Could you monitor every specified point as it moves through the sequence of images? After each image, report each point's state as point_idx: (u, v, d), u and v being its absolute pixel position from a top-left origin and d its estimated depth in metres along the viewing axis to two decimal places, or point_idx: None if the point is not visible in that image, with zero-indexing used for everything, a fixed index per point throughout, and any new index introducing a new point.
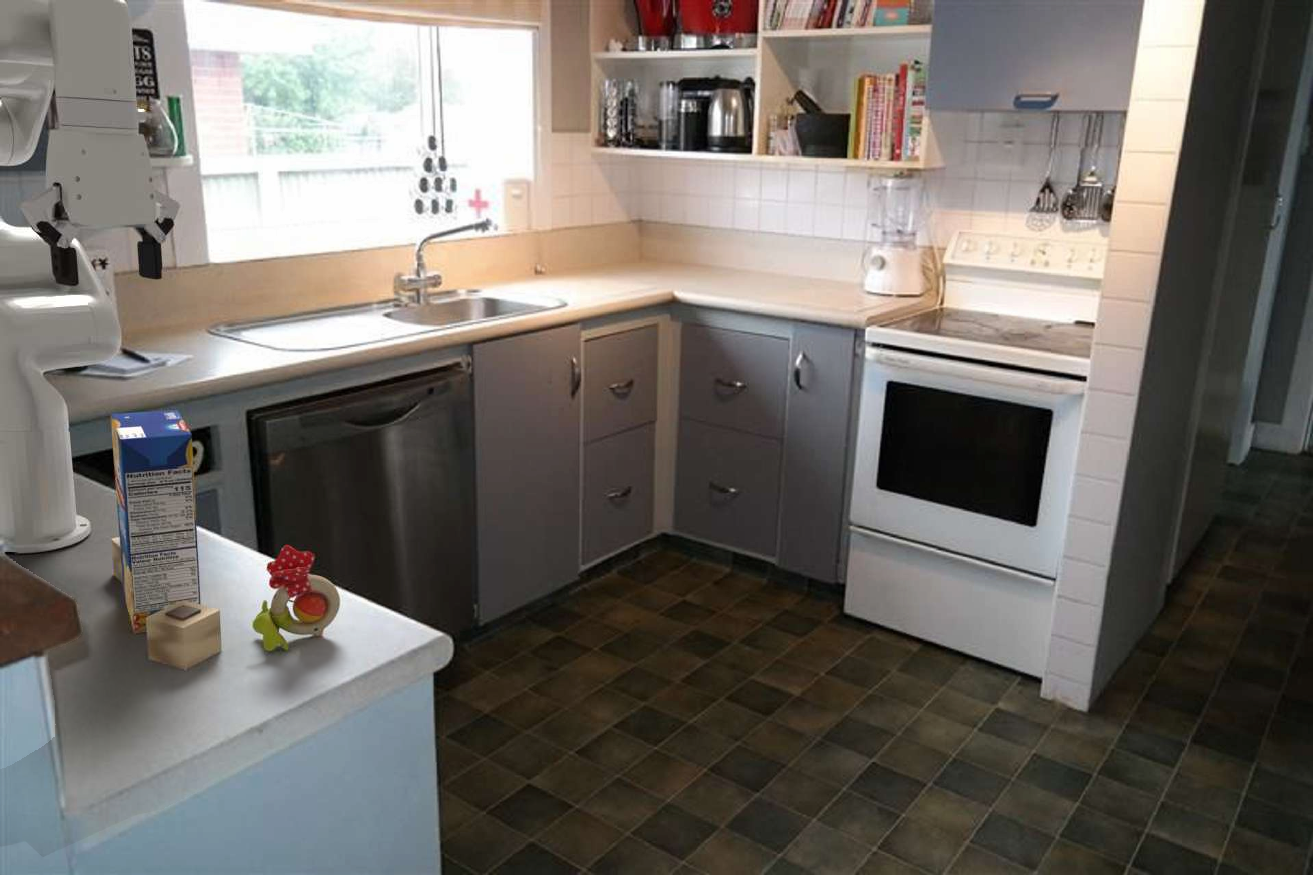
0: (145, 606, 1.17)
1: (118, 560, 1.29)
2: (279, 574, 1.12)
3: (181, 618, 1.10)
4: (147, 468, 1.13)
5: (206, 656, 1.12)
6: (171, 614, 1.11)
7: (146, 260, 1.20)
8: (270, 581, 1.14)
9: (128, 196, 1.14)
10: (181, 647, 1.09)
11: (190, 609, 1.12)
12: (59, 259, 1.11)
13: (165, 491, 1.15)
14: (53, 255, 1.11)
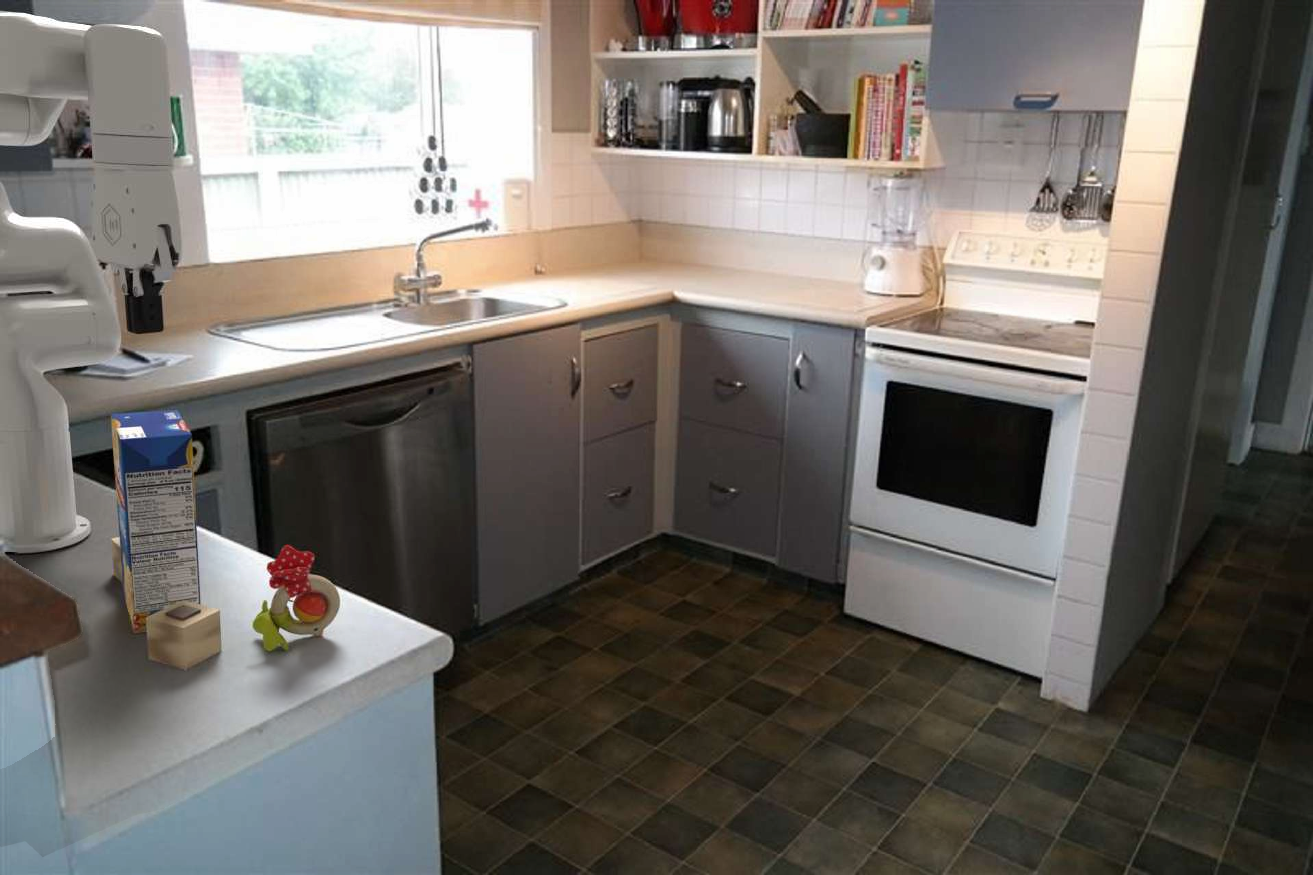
0: (145, 606, 1.17)
1: (118, 560, 1.29)
2: (279, 574, 1.12)
3: (181, 618, 1.10)
4: (147, 468, 1.13)
5: (206, 656, 1.12)
6: (171, 614, 1.11)
7: None
8: (270, 581, 1.14)
9: None
10: (181, 647, 1.09)
11: (190, 609, 1.12)
12: (157, 307, 1.13)
13: (165, 491, 1.15)
14: (148, 304, 1.12)
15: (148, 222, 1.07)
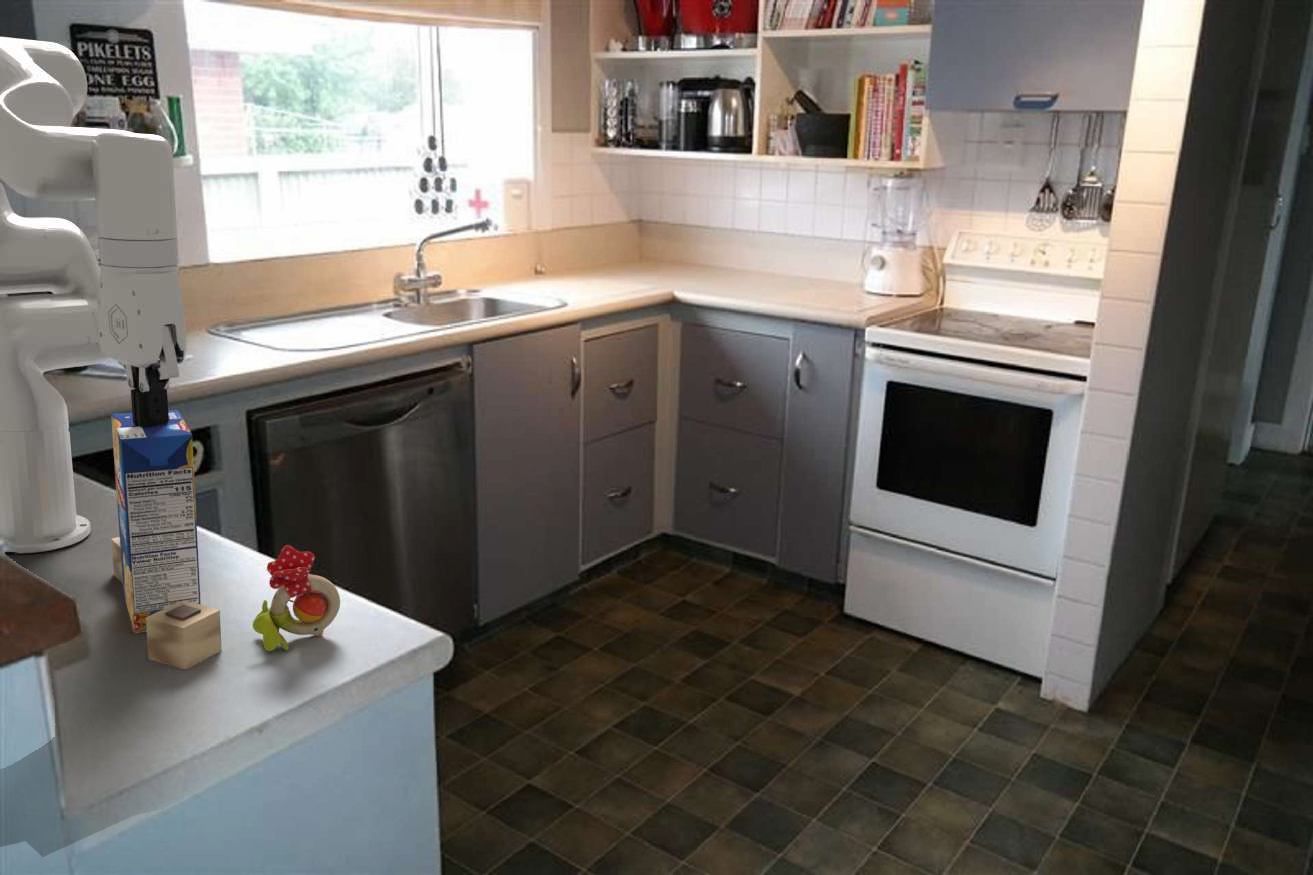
0: (145, 606, 1.17)
1: (118, 560, 1.29)
2: (279, 574, 1.12)
3: (181, 618, 1.10)
4: (148, 469, 1.13)
5: (206, 656, 1.12)
6: (171, 614, 1.11)
7: None
8: (270, 581, 1.14)
9: None
10: (181, 647, 1.09)
11: (190, 609, 1.12)
12: (163, 401, 1.16)
13: (165, 491, 1.15)
14: (153, 399, 1.15)
15: (154, 323, 1.10)
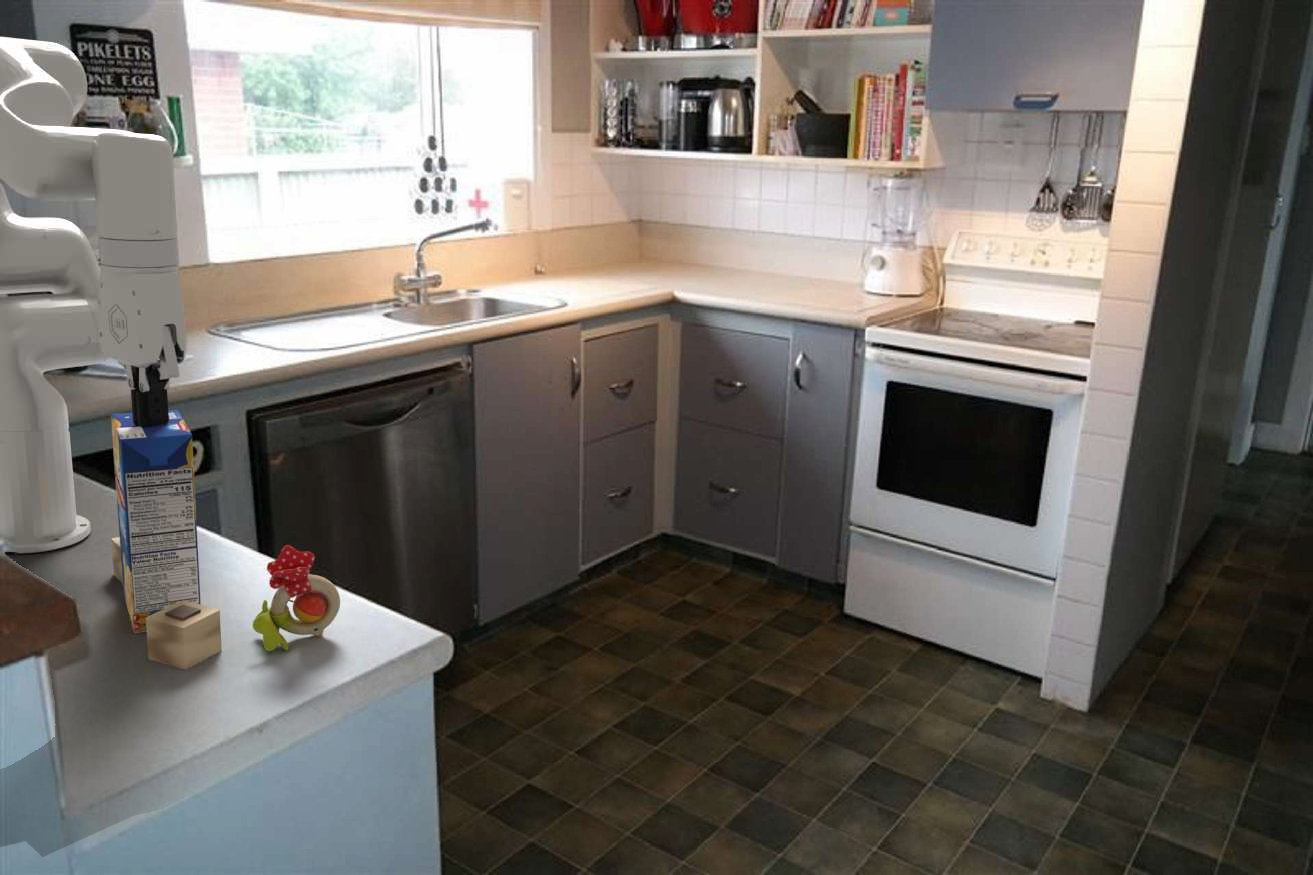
0: (145, 606, 1.17)
1: (118, 560, 1.29)
2: (279, 574, 1.12)
3: (181, 618, 1.10)
4: (148, 469, 1.13)
5: (206, 656, 1.12)
6: (171, 614, 1.11)
7: None
8: (270, 581, 1.14)
9: None
10: (181, 647, 1.09)
11: (190, 609, 1.12)
12: (163, 401, 1.16)
13: (165, 491, 1.15)
14: (153, 399, 1.15)
15: (154, 323, 1.10)
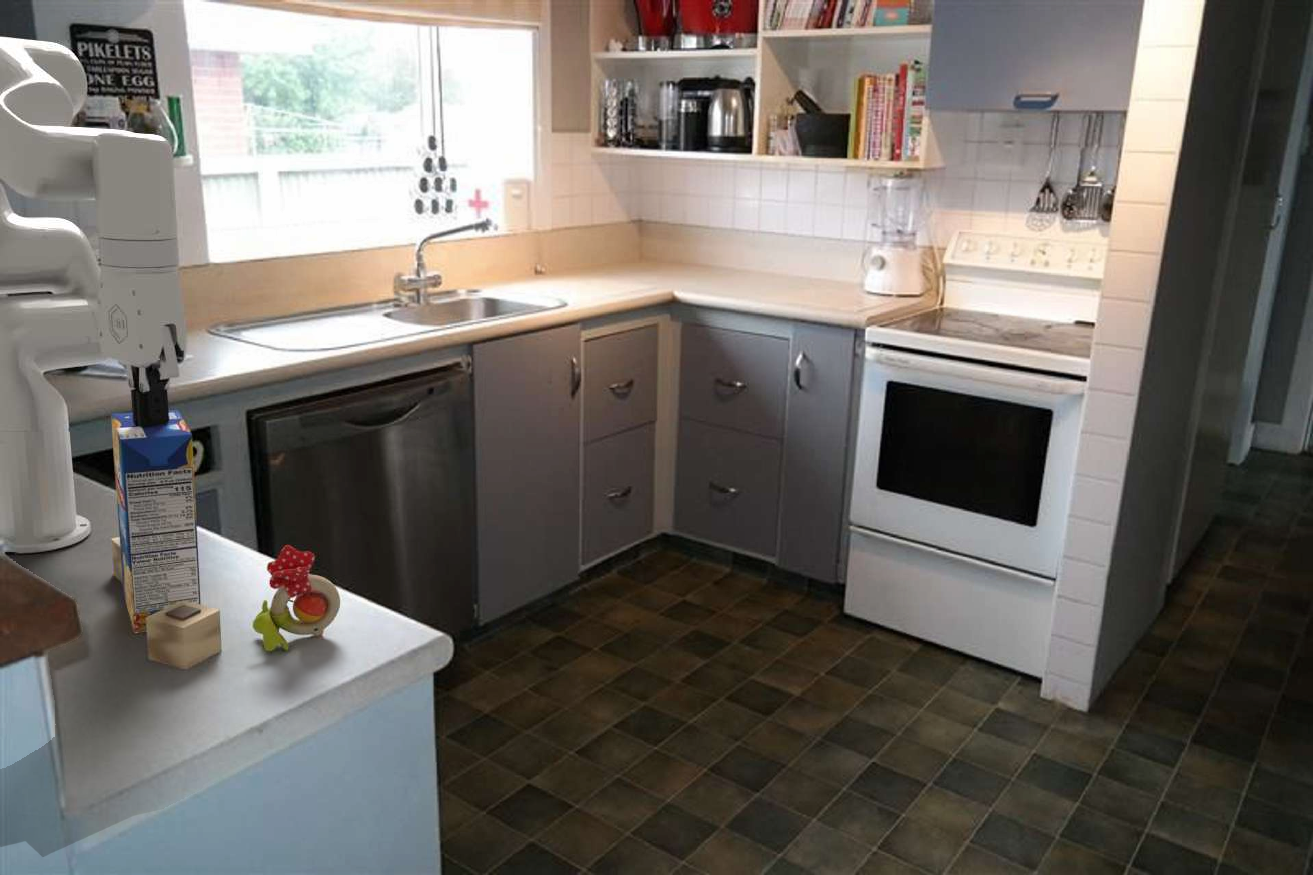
0: (145, 606, 1.17)
1: (118, 560, 1.29)
2: (279, 574, 1.12)
3: (181, 618, 1.10)
4: (148, 469, 1.13)
5: (206, 656, 1.12)
6: (171, 614, 1.11)
7: None
8: (270, 581, 1.14)
9: None
10: (181, 647, 1.09)
11: (190, 609, 1.12)
12: (163, 401, 1.16)
13: (165, 491, 1.15)
14: (153, 399, 1.15)
15: (154, 323, 1.10)
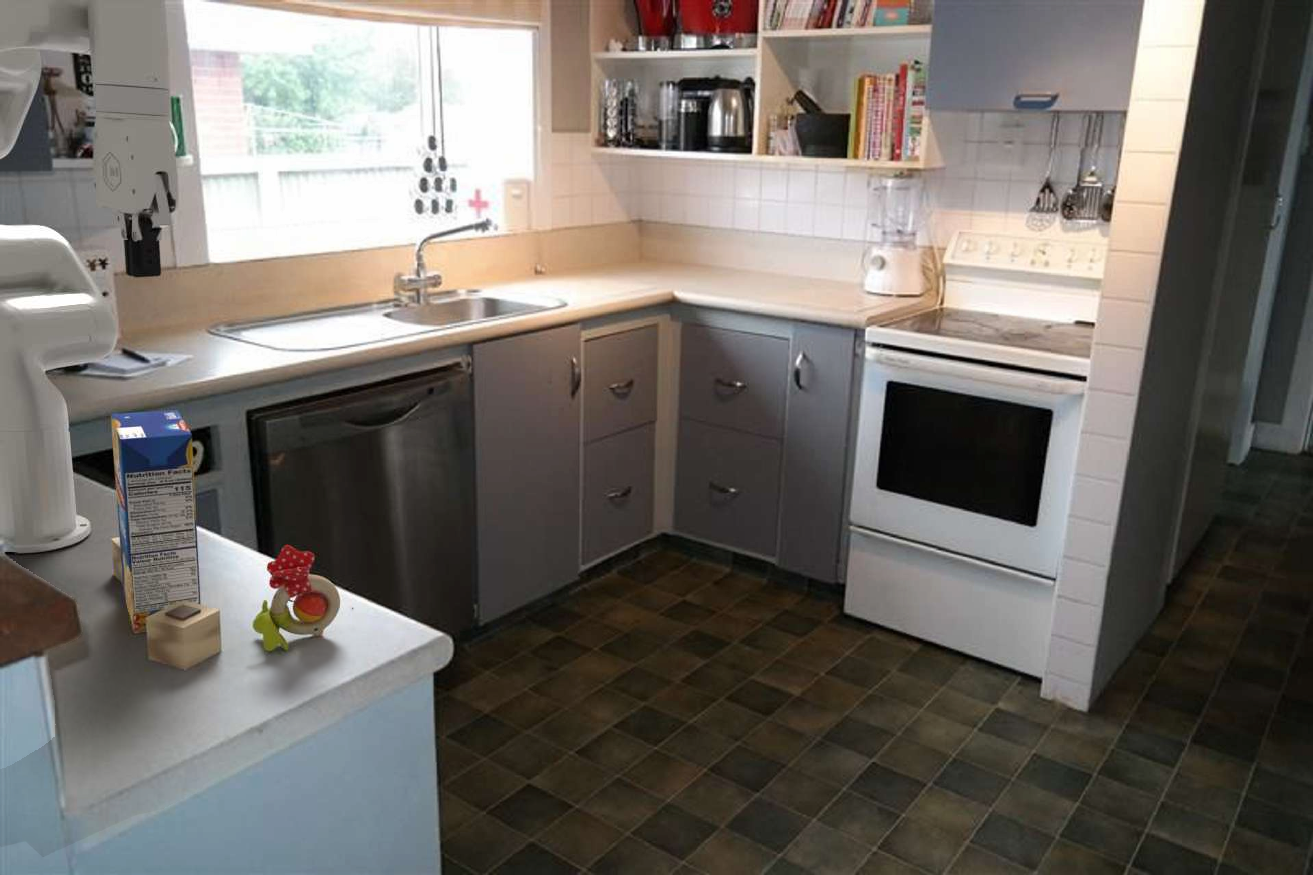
0: (145, 606, 1.17)
1: (118, 560, 1.29)
2: (279, 574, 1.12)
3: (181, 618, 1.10)
4: (147, 468, 1.13)
5: (206, 656, 1.12)
6: (171, 614, 1.11)
7: None
8: (270, 581, 1.14)
9: None
10: (181, 647, 1.09)
11: (190, 609, 1.12)
12: (155, 252, 1.19)
13: (165, 491, 1.15)
14: (146, 249, 1.18)
15: (147, 169, 1.13)
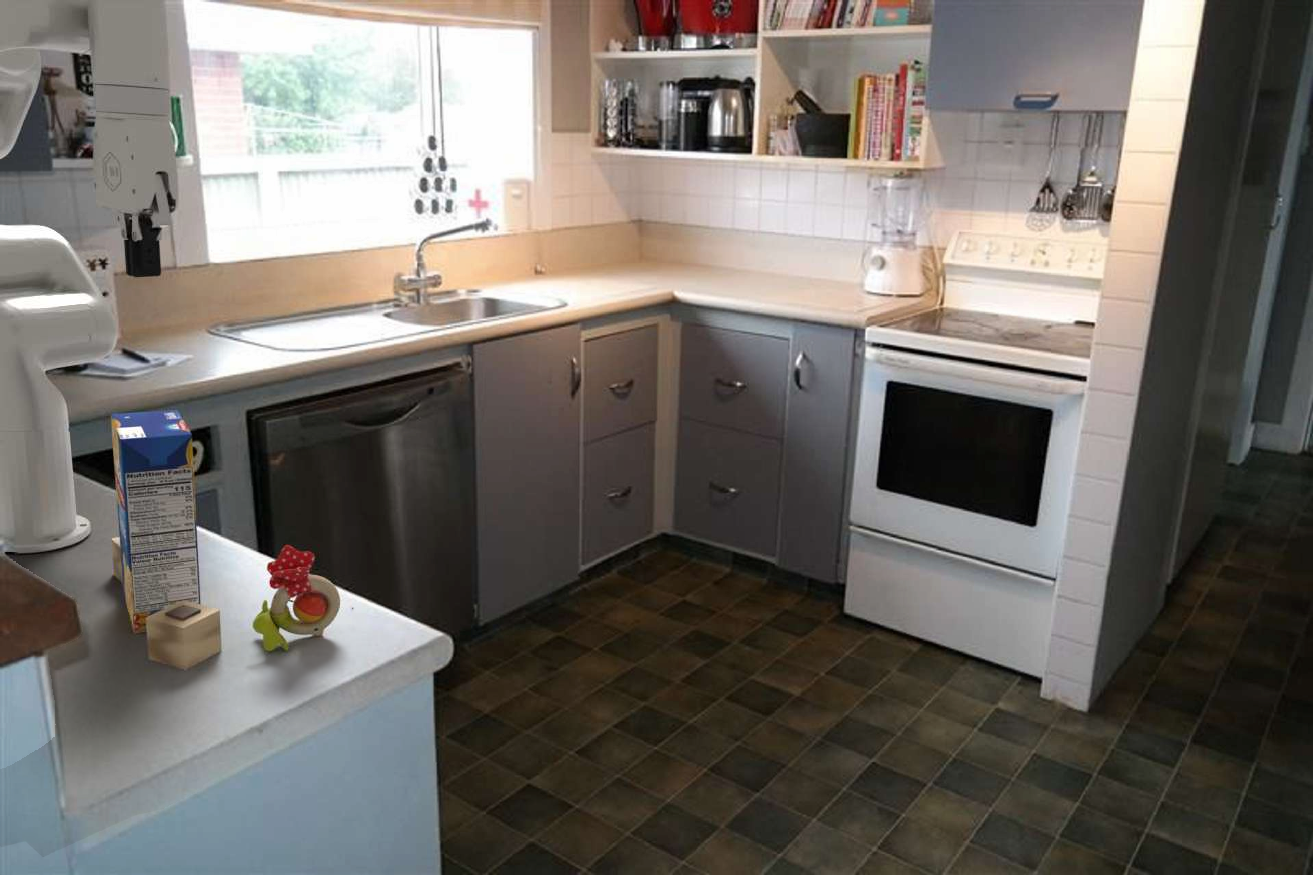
0: (145, 606, 1.17)
1: (118, 560, 1.29)
2: (279, 574, 1.12)
3: (181, 618, 1.10)
4: (147, 468, 1.13)
5: (206, 656, 1.12)
6: (171, 614, 1.11)
7: None
8: (270, 581, 1.14)
9: None
10: (181, 647, 1.09)
11: (190, 609, 1.12)
12: (155, 252, 1.19)
13: (165, 491, 1.15)
14: (146, 249, 1.18)
15: (147, 169, 1.13)
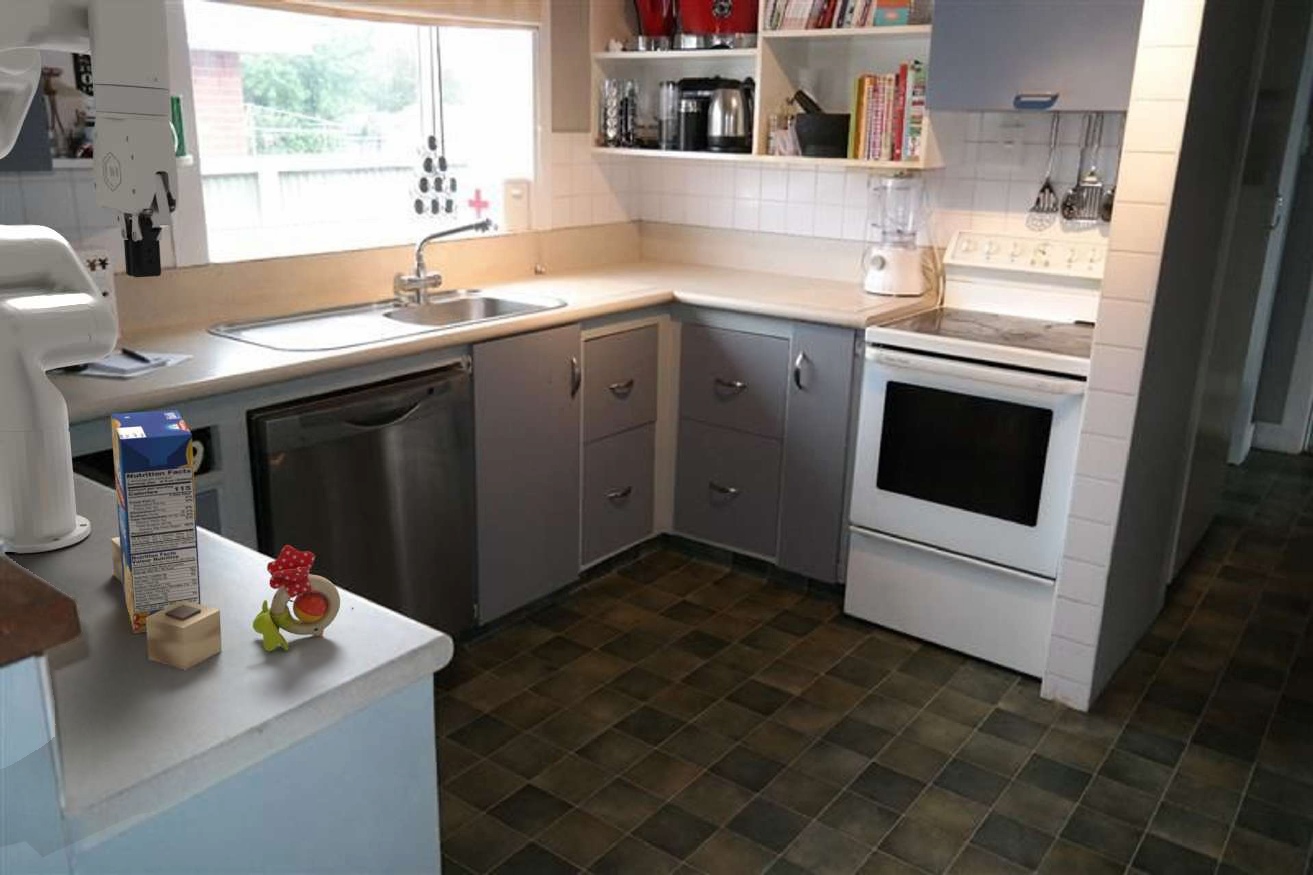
0: (145, 606, 1.17)
1: (118, 560, 1.29)
2: (279, 574, 1.12)
3: (181, 618, 1.10)
4: (147, 468, 1.13)
5: (206, 656, 1.12)
6: (171, 614, 1.11)
7: None
8: (270, 581, 1.14)
9: None
10: (181, 647, 1.09)
11: (190, 609, 1.12)
12: (155, 252, 1.19)
13: (165, 491, 1.15)
14: (146, 249, 1.18)
15: (147, 169, 1.13)
